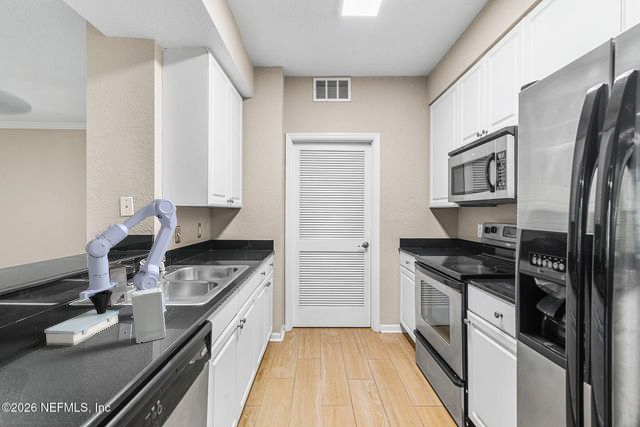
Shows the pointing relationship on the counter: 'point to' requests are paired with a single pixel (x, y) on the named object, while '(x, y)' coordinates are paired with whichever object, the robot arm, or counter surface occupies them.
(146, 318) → the skincare box
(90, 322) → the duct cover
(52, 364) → the counter surface
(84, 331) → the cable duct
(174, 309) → the counter surface
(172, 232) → the robot arm
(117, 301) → the coffee box
